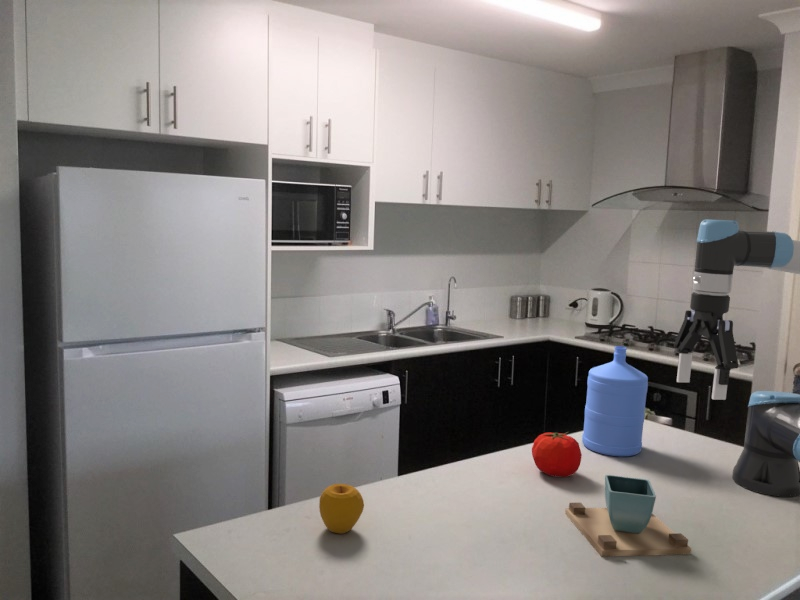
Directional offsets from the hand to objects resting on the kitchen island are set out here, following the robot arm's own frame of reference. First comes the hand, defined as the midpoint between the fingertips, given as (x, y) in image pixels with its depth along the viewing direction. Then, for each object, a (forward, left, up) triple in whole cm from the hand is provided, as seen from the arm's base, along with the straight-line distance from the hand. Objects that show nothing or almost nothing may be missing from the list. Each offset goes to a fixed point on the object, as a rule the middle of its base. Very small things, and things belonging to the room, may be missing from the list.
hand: (699, 390), depth 151 cm
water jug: (0, -38, -27) cm, 47 cm away
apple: (+77, +7, -27) cm, 82 cm away
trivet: (+20, +11, -27) cm, 35 cm away
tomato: (+23, -20, -27) cm, 41 cm away
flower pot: (+20, +11, -26) cm, 34 cm away
